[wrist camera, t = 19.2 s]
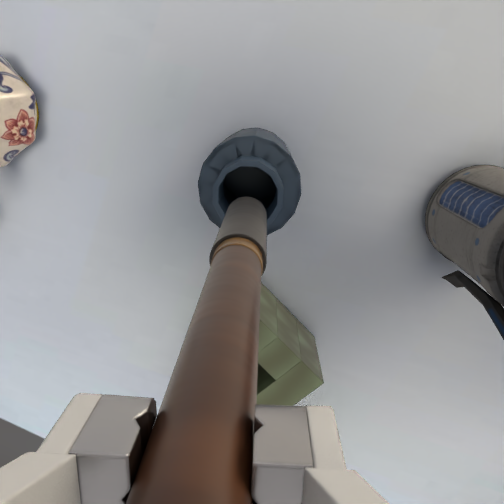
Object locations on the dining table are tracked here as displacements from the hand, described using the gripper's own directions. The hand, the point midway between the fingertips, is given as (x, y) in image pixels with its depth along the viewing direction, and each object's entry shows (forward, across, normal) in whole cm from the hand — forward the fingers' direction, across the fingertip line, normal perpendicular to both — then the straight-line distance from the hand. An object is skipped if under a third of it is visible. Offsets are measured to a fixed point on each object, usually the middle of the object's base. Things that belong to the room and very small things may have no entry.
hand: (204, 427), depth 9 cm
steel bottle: (+38, 0, 0) cm, 38 cm away
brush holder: (+38, -1, +19) cm, 43 cm away
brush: (+18, 0, 0) cm, 18 cm away
